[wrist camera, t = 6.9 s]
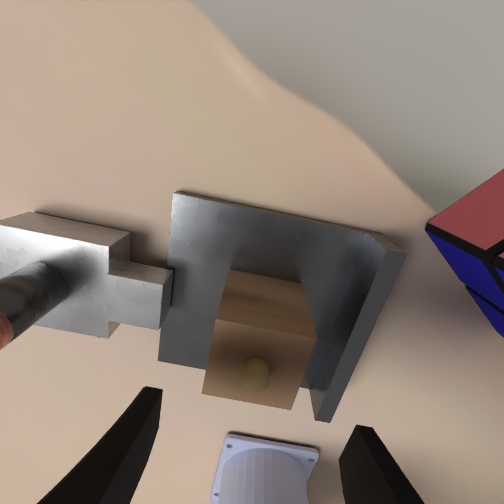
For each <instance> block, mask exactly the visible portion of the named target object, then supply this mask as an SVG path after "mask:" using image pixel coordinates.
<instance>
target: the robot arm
mask: <svg viewBox="0 0 504 504" xmlns="http://www.w3.org/2000/svg"><path fill="white" fill-rule="evenodd" d="M162 392H163V389H158V388H153V387H147V386H146V387H144V388H142V390H141V391H140V392H139V394H138V395H137V397H136V398H135V399H134V400H133V402H132V403H131V404H130V405H129V407H128V408H127V409H126V410H125V412H124V413H123V414H122V415H121V416H120V418H119V419H118V420H117V421H116V422H115V423H114V425H113V426H112V427H111V428H110V429H109V430H108V431H107V432H106V434H105V435H104V436H103V437H102V438H101V439H100V440H99V441H98V443H97V444H96V445H95V446H94V447H93V448H92V449H91V450H90V451H89V452H88V453H87V454H86V455H85V456H84V457H83V458H82V459H81V460H80V462H79V463H78V464H77V465H76V466H75V467H74V468H73V469H72V470H71V471H70V472H69V473H68V474H67V475H66V476H65V477H64V478H63V479H62V480H61V481H60V482H59V483H58V484H57V485H56V486H55V487H54V488H53V489H52V490H51V491H50V492H49V493H48V494H47V495H45V496H44V497H43V498H42V499H41V500H40V501H39V502H38V503H37V504H130V502H131V499H132V497H133V495H134V492H135V490H136V488H137V485H138V483H139V481H140V478H141V476H142V474H143V471H144V469H145V466H146V464H147V462H148V459H149V456H150V453H151V450H152V447H153V444H154V441H155V438H156V434H157V431H158V428H159V420H160V411H161V402H162ZM318 457H319V454H318V451H317V450H316V449H314V448H308V447H303V446H297V445H291V444H286V443H280V442H274V441H269V440H263V439H257V438H252V437H246V436H240V435H235V434H228V435H226V437H225V440H224V444H223V448H222V452H221V456H220V460H219V464H218V468H217V472H216V476H215V480H214V484H213V488H212V492H211V497H210V501H211V502H212V503H214V504H308V500H307V492H306V483H307V481H308V479H309V477H310V475H311V473H312V470H313V468H314V466H315V464H316V462H317V460H318ZM339 465H340V473H341V481H342V487H343V494H344V499H345V503H346V504H425V503H424V502H423V500H422V499H421V498H420V496H419V495H418V493H417V492H416V491H415V489H414V488H413V486H412V485H411V483H410V482H409V481H408V479H407V478H406V476H405V475H404V473H403V472H402V470H401V469H400V467H399V466H398V464H397V463H396V462H395V460H394V459H393V457H392V456H391V454H390V453H389V451H388V450H387V448H386V447H385V445H384V444H383V442H382V441H381V439H380V438H379V436H378V435H377V433H376V432H375V431H374V429H373V428H372V427H367V426H361V425H356V426H355V428H354V430H353V432H352V434H351V436H350V438H349V440H348V442H347V444H346V446H345V448H344V450H343V452H342V454H341V456H340V458H339Z"/></svg>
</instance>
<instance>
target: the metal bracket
mask: <svg viewBox="0 0 504 504" xmlns="http://www.w3.org/2000/svg"><path fill="white" fill-rule="evenodd" d="M406 254H407V253H405V252H404V251H403V250H401V249H400V248H399V247H397V246H396V245H395V244H394V243H392V242H391V241H390V240H388V239H387V238H386V237H384V236H383V235H382V234H381V233H377V232H372V231H367V230H363V229H358V228H353V227H348V226H344V225H339V224H334V223H329V222H324V221H320V220H315V219H310V218H305V217H301V216H296V215H291V214H286V213H282V212H277V211H272V210H267V209H262V208H258V207H253V206H248V205H243V204H239V203H234V202H229V201H224V200H219V199H215V198H210V197H205V196H200V195H196V194H191V193H186V192H181V191H176V192H174V193H173V203H172V213H171V224H170V235H169V246H168V257H167V268H166V269H168V270H173V278H172V287H171V297H170V307H169V313H168V315H167V316H166V318H165V320H164V322H163V324H162V325H161V333H160V343H159V354H158V361H161V362H167V363H172V364H178V365H183V366H188V367H194V368H199V369H205V370H206V368H207V362H208V357H209V352H210V346H211V341H212V336H213V330H214V325H215V320H216V316H217V312H218V308H219V305H220V301H221V297H222V294H223V290H224V286H225V283H226V279H227V275H228V272H229V269H232V270H236V271H241V272H246V273H251V274H256V275H261V276H266V277H271V278H276V279H281V280H286V281H291V282H296V283H301V284H302V285H303V289H304V293H305V296H306V300H307V304H308V307H309V311H310V314H311V318H312V322H313V325H314V329H315V333H316V336H317V341H316V344H315V346H314V349H313V352H312V354H311V357H310V360H309V362H308V365H307V368H306V371H305V373H304V376H303V379H302V381H301V384H300V387H302V388H307V389H309V391H310V396H311V402H312V407H313V413H314V418H315V420H316V421H322V422H327V423H330V422H331V420H332V418H333V415H334V413H335V411H336V409H337V407H338V404H339V402H340V400H341V398H342V396H343V393H344V391H345V389H346V387H347V385H348V382H349V380H350V378H351V376H352V373H353V371H354V369H355V367H356V365H357V362H358V360H359V358H360V356H361V354H362V351H363V349H364V347H365V345H366V343H367V340H368V338H369V336H370V334H371V332H372V329H373V327H374V325H375V323H376V321H377V318H378V316H379V314H380V312H381V310H382V307H383V305H384V303H385V301H386V299H387V296H388V294H389V292H390V290H391V287H392V285H393V283H394V281H395V279H396V276H397V274H398V272H399V270H400V268H401V265H402V263H403V261H404V259H405V257H406Z"/></svg>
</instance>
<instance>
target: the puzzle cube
mask: <svg viewBox="0 0 504 504" xmlns="http://www.w3.org/2000/svg"><path fill="white" fill-rule="evenodd" d="M425 231H426V232H427V234H428V235H429V237H430V238H431V239H432V241H433V242H434V244H435V245H436V247H437V248H438V249H439V251H440V252H441V254H442V255H443V256H444V258H445V259H446V261H447V262H448V263H449V265H450V266H451V268H452V269H453V270H454V272H455V273H456V275H457V276H458V278H459V279H460V280H461V281H462V282H463V283H465V284H466V289H467V290H468V292H469V293H470V294H471V296H472V297H473V299H474V300H475V302H476V303H477V304H478V306H479V307H480V309H481V310H482V311H483V313H484V314H485V316H486V317H487V318H488V320H489V321H490V323H491V324H492V325H493V327H494V328H495V330H496V331H497V332H498V333H499V334H500V335H502V336H503V337H504V169H503V170H501V171H500V172H498V173H497V174H496V175H494V176H493V177H491V178H490V179H489V180H487V181H486V182H484V183H483V184H481V185H480V186H478V187H477V188H475V189H474V190H473V191H471V192H470V193H468V194H467V195H465V196H464V197H463V198H461V199H460V200H459V201H457V202H456V203H454V204H453V205H451V206H450V207H448V208H447V209H445V210H444V211H443V212H441V213H440V214H438V215H437V216H435V217H434V218H433V219H431V220H430V221H428V222H427V224H426V227H425Z"/></svg>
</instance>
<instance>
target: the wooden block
mask: <svg viewBox="0 0 504 504" xmlns="http://www.w3.org/2000/svg"><path fill="white" fill-rule="evenodd" d="M316 341H317V336H316V333H315V329H314V325H313V322H312V318H311V314H310V311H309V307H308V304H307V300H306V296H305V293H304V289H303V285H302V284H301V283H296V282H291V281H286V280H281V279H276V278H271V277H266V276H261V275H256V274H251V273H246V272H241V271H236V270H232V269H229V272H228V275H227V279H226V283H225V286H224V290H223V294H222V297H221V301H220V305H219V308H218V312H217V316H216V320H215V325H214V330H213V336H212V341H211V346H210V352H209V357H208V362H207V368H206V373H205V379H204V384H203V389H202V394H206V395H211V396H217V397H222V398H228V399H233V400H238V401H244V402H249V403H255V404H260V405H266V406H271V407H277V408H282V409H287V410H291V409H292V406H293V403H294V400H295V398H296V395H297V392H298V390H299V387H300V384H301V381H302V379H303V376H304V373H305V371H306V368H307V365H308V362H309V360H310V357H311V354H312V352H313V349H314V346H315V344H316Z"/></svg>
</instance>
